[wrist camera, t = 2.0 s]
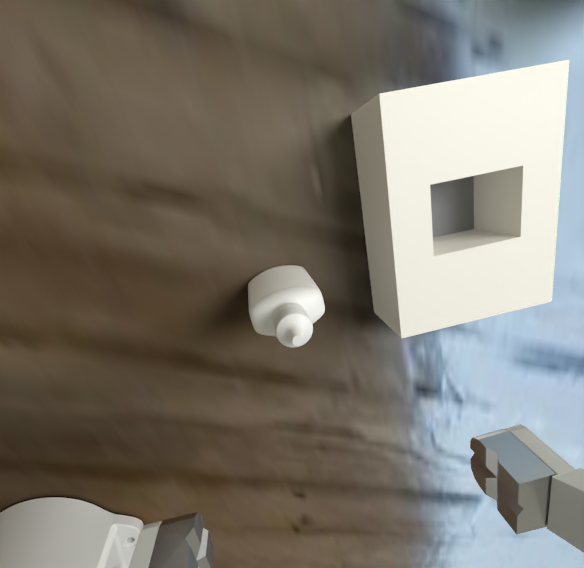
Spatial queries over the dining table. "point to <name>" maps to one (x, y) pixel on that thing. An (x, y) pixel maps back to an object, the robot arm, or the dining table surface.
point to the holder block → (462, 195)
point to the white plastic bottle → (285, 304)
